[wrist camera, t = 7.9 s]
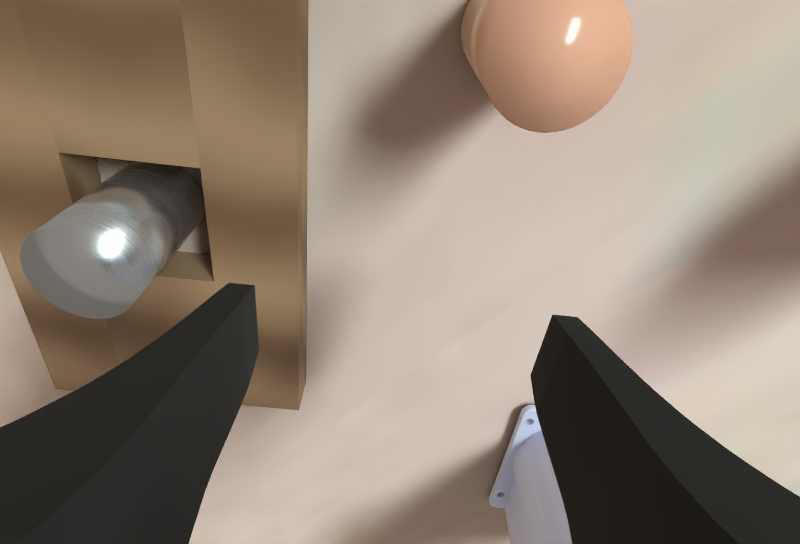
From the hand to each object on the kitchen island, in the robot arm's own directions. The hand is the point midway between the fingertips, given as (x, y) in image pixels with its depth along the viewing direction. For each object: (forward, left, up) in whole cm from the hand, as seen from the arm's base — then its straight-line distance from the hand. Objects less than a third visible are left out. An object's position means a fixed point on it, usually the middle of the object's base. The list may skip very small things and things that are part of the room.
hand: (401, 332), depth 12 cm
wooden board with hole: (-2, +10, -9) cm, 14 cm away
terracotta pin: (+6, -3, -9) cm, 12 cm away
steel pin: (-2, +10, -9) cm, 14 cm away
